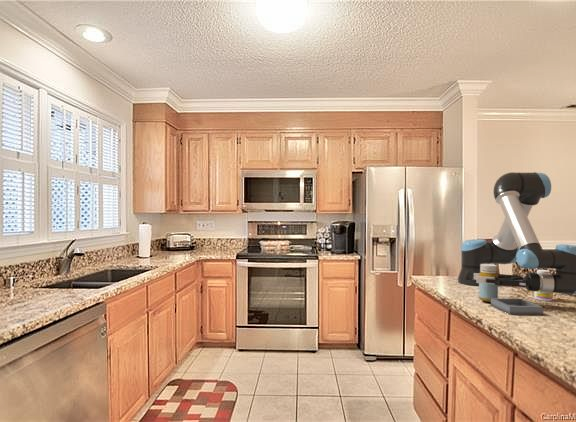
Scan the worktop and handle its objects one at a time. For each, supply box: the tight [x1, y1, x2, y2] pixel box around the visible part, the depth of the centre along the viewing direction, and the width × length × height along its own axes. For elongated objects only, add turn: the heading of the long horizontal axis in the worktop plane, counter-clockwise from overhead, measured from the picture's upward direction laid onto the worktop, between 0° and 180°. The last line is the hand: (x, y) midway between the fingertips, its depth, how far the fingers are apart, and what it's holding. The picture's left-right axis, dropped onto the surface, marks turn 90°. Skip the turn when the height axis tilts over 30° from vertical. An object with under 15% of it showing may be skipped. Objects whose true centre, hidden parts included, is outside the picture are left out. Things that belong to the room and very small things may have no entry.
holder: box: [490, 298, 544, 316], centre depth 138 cm, size 12×12×3 cm
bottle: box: [478, 264, 499, 303], centre depth 150 cm, size 7×7×15 cm
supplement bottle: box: [533, 269, 554, 302], centre depth 154 cm, size 7×7×13 cm
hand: (475, 277), depth 151 cm, fingers closed on bottle, 7 cm apart
